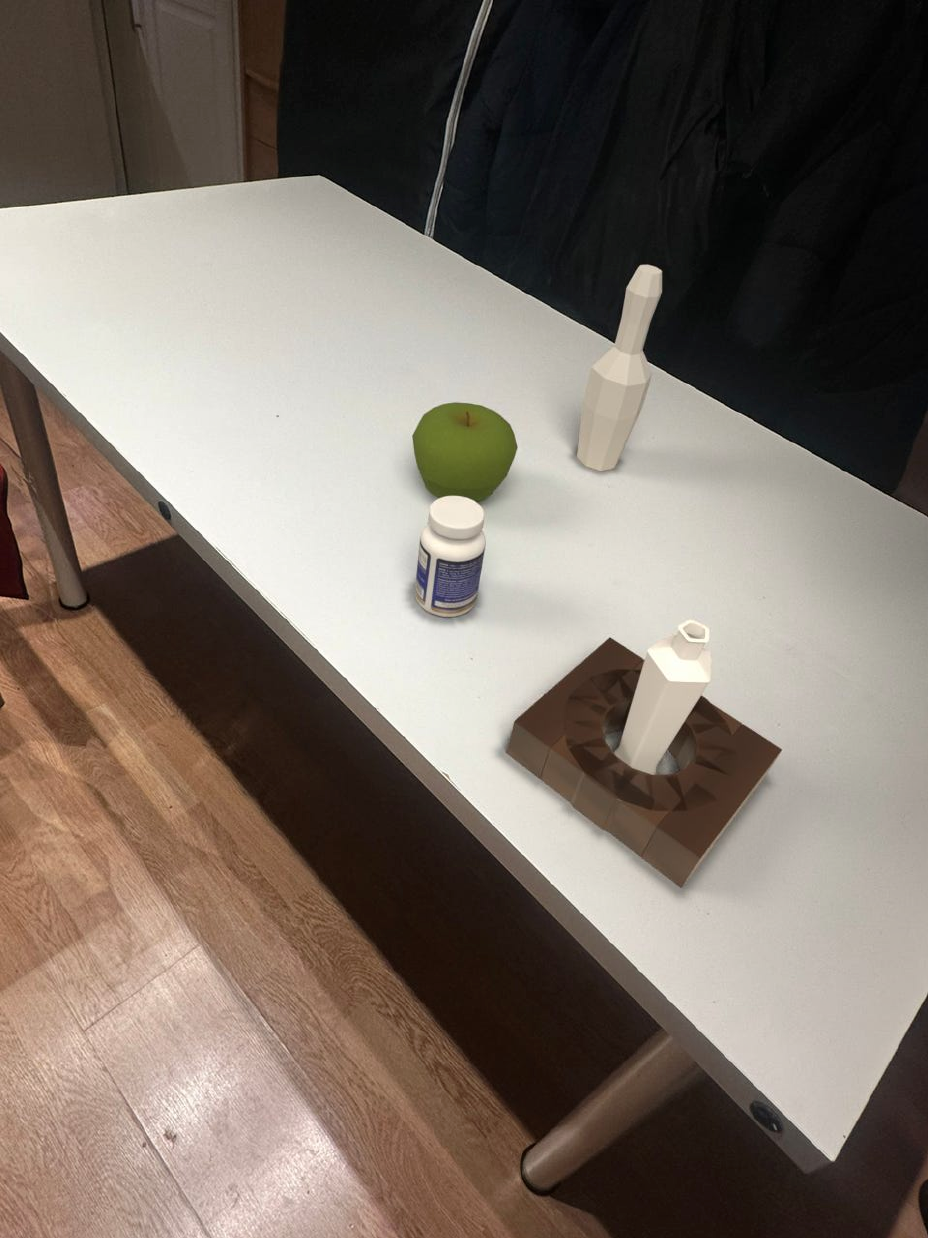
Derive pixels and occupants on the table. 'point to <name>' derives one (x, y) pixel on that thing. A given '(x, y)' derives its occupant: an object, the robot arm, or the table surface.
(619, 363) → the faceted bottle
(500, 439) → the apple
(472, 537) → the pill bottle
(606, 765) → the hole plate
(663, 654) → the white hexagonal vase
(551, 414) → the table surface
